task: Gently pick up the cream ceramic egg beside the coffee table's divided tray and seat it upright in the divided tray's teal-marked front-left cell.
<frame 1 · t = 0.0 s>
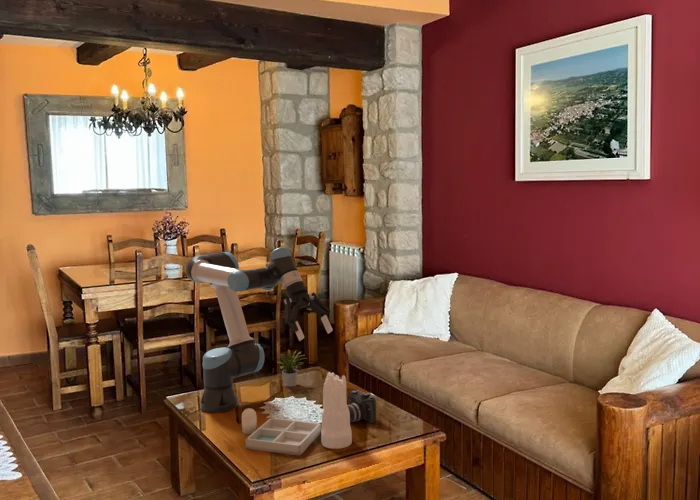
hand: (316, 335, 245), 36 cm above the table, tool tilted 35°, fingers open, 13 cm apart
divided tray: (284, 440, 240), on the table
decorative vase: (336, 442, 238), on the table
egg: (249, 431, 249), on the table
house plant: (289, 386, 299), on the table
camera: (357, 419, 259), on the table
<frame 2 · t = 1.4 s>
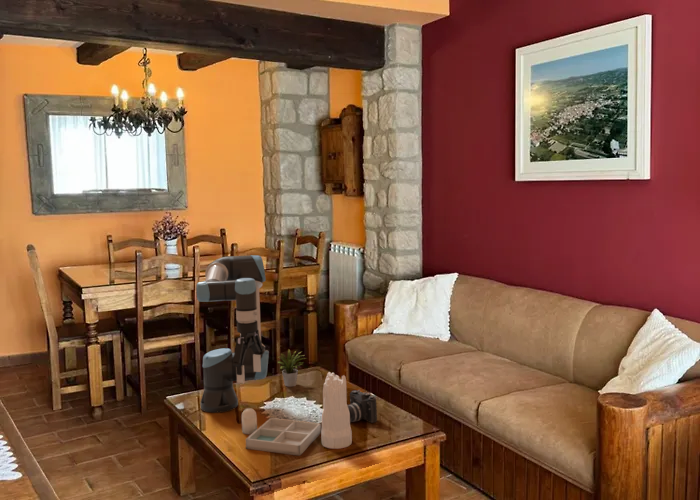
hand: (249, 377, 246), 21 cm above the table, tool pointing down, fingers open, 13 cm apart
nothing on the table moved.
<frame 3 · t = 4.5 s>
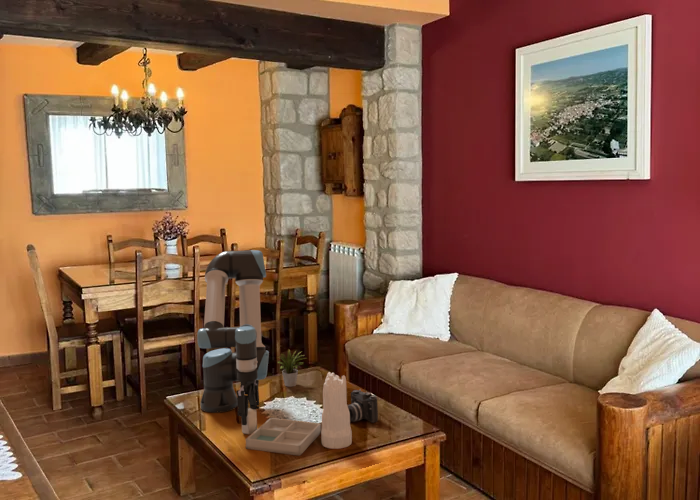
hand: (249, 429, 249), 1 cm above the table, tool pointing down, fingers closed on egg, 5 cm apart
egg: (249, 431, 249), on the table, touching gripper
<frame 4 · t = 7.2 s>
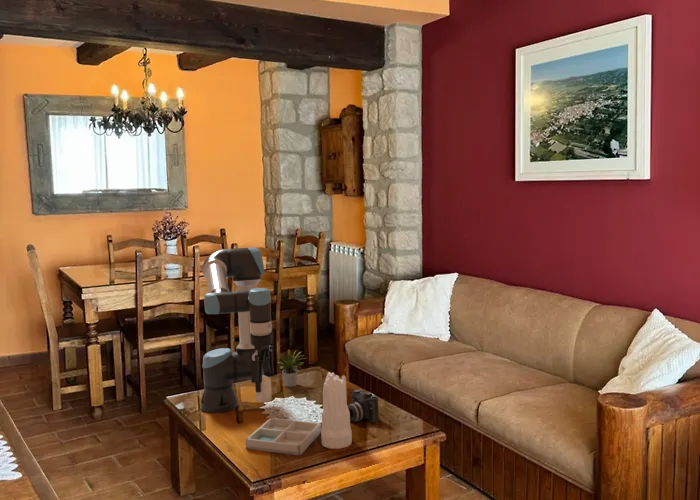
hand: (263, 397, 235), 17 cm above the table, tool pointing down, fingers closed on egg, 5 cm apart
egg: (263, 399, 235), point 16 cm above the table, touching gripper
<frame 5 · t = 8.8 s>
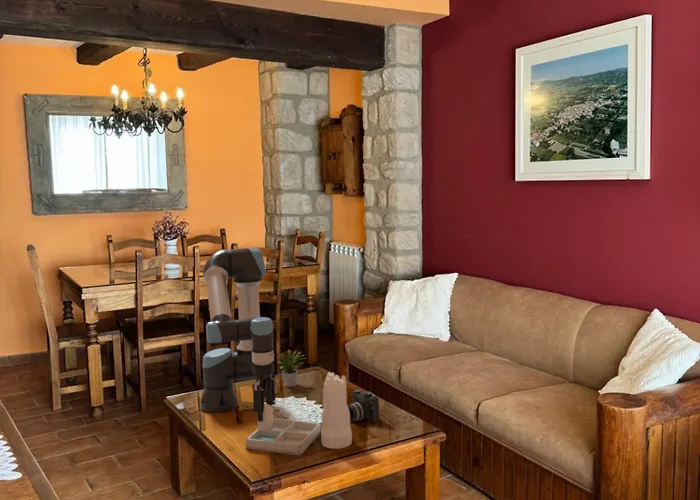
hand: (265, 425, 236), 7 cm above the table, tool pointing down, fingers closed on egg, 5 cm apart
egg: (265, 428, 236), point 6 cm above the table, touching gripper
when the fingers open (4 cm above the table, at t = 10.1 s): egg drops 2 cm, resting on divided tray.
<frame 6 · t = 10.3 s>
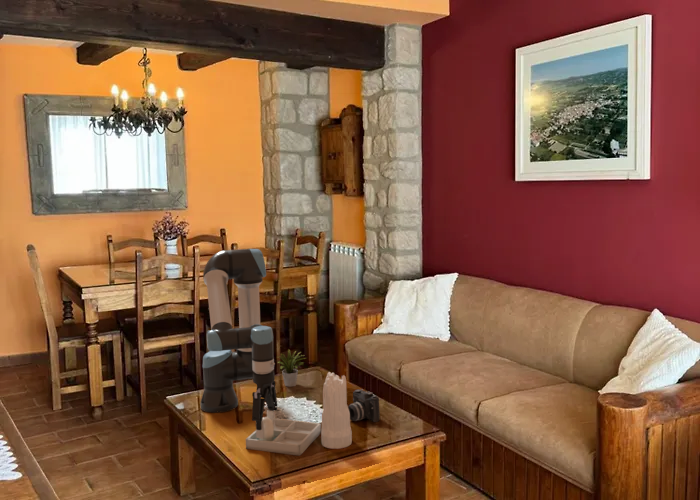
hand: (265, 432, 237), 4 cm above the table, tool pointing down, fingers open, 8 cm apart
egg: (266, 441, 237), point 1 cm above the table, touching divided tray
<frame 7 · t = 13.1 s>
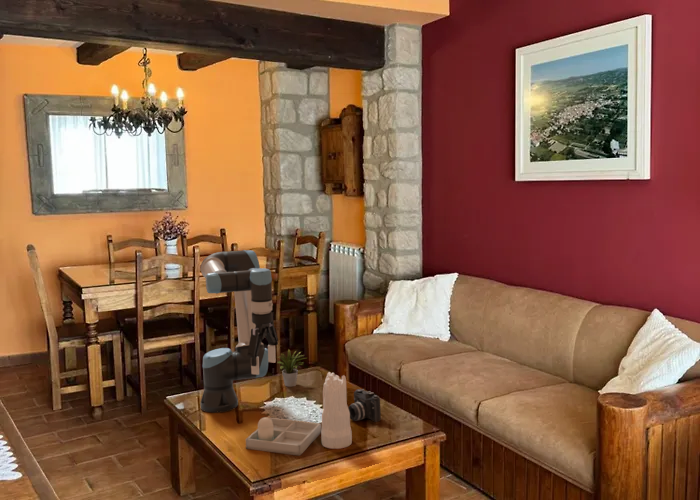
hand: (263, 368, 244), 25 cm above the table, tool pointing down, fingers open, 13 cm apart
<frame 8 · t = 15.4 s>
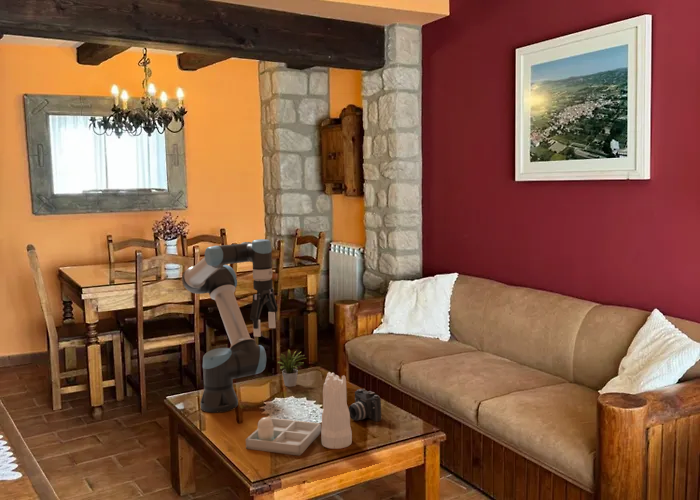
hand: (264, 332, 264), 33 cm above the table, tool pointing down, fingers open, 13 cm apart
at the end: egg 0.0 cm from the target spot on the divided tray, point 1.1 cm above the divided tray's base; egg tilted 0°; the gripper is holding nothing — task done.
